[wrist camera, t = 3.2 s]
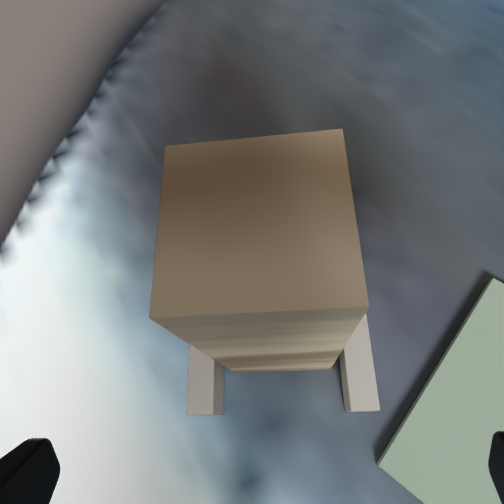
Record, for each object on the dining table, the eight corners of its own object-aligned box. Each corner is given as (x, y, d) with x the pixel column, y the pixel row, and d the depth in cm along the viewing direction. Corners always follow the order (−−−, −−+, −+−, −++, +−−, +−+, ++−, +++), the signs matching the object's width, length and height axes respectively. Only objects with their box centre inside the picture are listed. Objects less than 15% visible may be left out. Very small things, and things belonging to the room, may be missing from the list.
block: (330, 369, 19) (369, 307, 8) (233, 372, 20) (149, 317, 9) (321, 277, 21) (342, 128, 10) (233, 282, 22) (165, 145, 11)
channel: (370, 411, 18) (380, 410, 16) (200, 414, 19) (186, 414, 17) (339, 182, 23) (343, 157, 21) (207, 193, 24) (198, 170, 22)
